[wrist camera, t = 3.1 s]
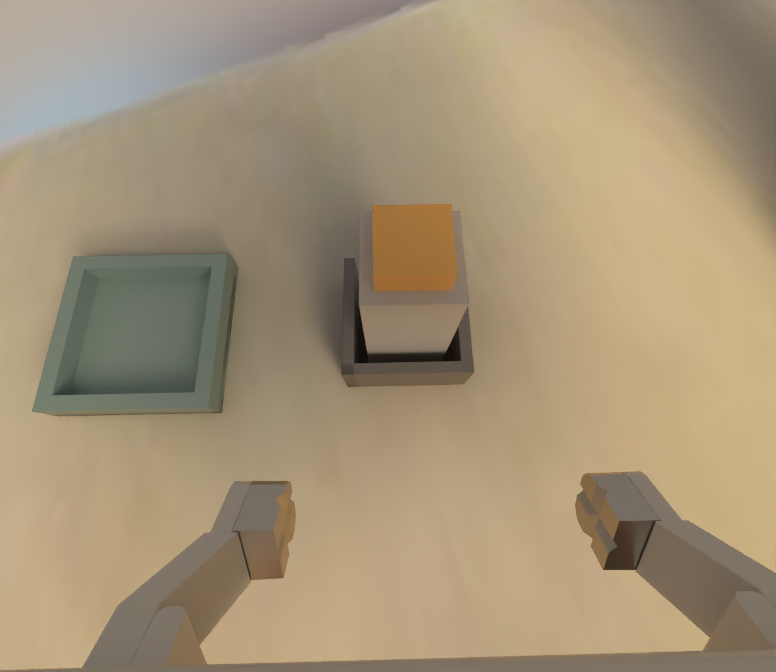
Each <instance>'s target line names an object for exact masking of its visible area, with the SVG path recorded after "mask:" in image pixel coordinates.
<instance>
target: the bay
mask: <svg viewBox="0 0 776 672" xmlns="http://www.w3.org/2000/svg"><path fill="white" fill-rule="evenodd" d="M451 356H452V361H443V362H395V363H358V276H357V270H356V263H355V258H347V259H344V306H343V367H342V375H343V377H344V379H345V381H346V384H347V386H348V387H355V386H402V385H449V384H464V383H465V382H466V381H467V380H468V379H469V377H470V376H471V375H472V374H473V373H474V367H473V356H472V346H471V335H470V324H469V314H468V306H467V309H466V311H465V313H464V315H463V317H462V319H461V321H460V324H459V326H458V328H457V330H456V332H455V334H454V336H453V338H452V341H451Z"/></svg>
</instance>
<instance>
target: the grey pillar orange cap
mask: <svg viewBox="0 0 776 672" xmlns="http://www.w3.org/2000/svg"><path fill="white" fill-rule="evenodd" d="M468 304H469V301H468V291H467V280H466V270H465V259H464V248H463V238H462V227H461V217H460V211H452V205H451V204H427V205H375V206H372V213H359V309H360V314H361V320H362V326H363V331H364V337H365V342H366V348H367V354H368V359H369V363H395V362H442V360H443V358H444V356H445V353H446V351H447V349H448V347H449V345H450V343H451V341H452V338H453V336H454V334H455V332H456V330H457V328H458V326H459V324H460V321H461V319H462V317H463V315H464V313H465V311H466V309H467V306H468Z"/></svg>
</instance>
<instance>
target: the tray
mask: <svg viewBox="0 0 776 672" xmlns="http://www.w3.org/2000/svg"><path fill="white" fill-rule="evenodd" d="M237 272H238V267H237V266H236V265H235V263H234V262H233V260H232V259H231V258H230V256H229V255H228V254H181V255H130V256H80V257H73V260H72V263H71V267H70V271H69V275H68V278H67V282H66V286H65V290H64V293H63V297H62V301H61V305H60V308H59V312H58V316H57V320H56V323H55V327H54V331H53V335H52V338H51V342H50V346H49V350H48V353H47V357H46V361H45V365H44V368H43V372H42V376H41V380H40V383H39V387H38V391H37V394H36V398H35V402H34V406H33V409H32V412H37V413H43V414H49V415H54V416H89V415H136V414H182V413H222V404H223V395H224V386H225V377H226V369H227V360H228V351H229V342H230V333H231V325H232V316H233V307H234V298H235V289H236V281H237Z"/></svg>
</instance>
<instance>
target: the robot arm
mask: <svg viewBox="0 0 776 672" xmlns="http://www.w3.org/2000/svg"><path fill="white" fill-rule="evenodd" d="M580 484H581V486H582V488H583V491H582V492H581V493H579V494H578V495H577V498H576V503H575V507H576V516H577V519H578V522H579V524H580V526H581V528H582V530H583V532H585V533H586V534H587V535H589V536H590V537H591V538H592V543H591V548H592V550H593V551H594V553H595V555H596V557H597V559H598V561H599V563H600V565H601V567H602V569H603V570H636V572H637V573H638V574H639V575H640V576H641V577H643V578H644V579H645V580H646V581H647V582H648V583H649V584H650V585H652V586H653V587H654V588H655V589H656V590H657V591H658V592H659V593H661V594H662V595H663V596H664V597H665V598H666V599H667V600H668V601H669V602H671V603H672V604H673V605H674V606H675V607H676V608H677V609H678V610H680V611H681V612H682V613H683V614H684V615H685V616H686V617H687V618H689V619H690V620H691V621H692V622H693V623H694V624H695V625H696V626H698V627H699V628H700V629H701V630H702V631H703V632H704V633H705V634H706V635H708V636H709V637H710V638H709V640H708V642H707V643H706V645H705V647H704V649H703V650H702V651H684V652H648V653H611V654H575V655H538V656H502V657H467V658H432V659H396V660H360V661H323V662H286V663H249V664H212V665H207V663H206V661H205V658H204V656H203V653H202V651H201V648H200V644H201V643H202V642H203V640H204V639H205V638H206V637H207V635H208V634H209V633H210V632H211V630H212V629H213V628H214V627H215V626H216V624H217V623H218V622H219V621H220V619H221V618H222V617H223V616H224V614H225V613H226V612H227V611H228V610H229V608H230V607H231V606H232V605H233V603H234V602H235V601H236V600H237V598H238V597H239V596H240V595H241V594H242V592H243V591H244V590H245V589H246V587H247V586H248V585H249V584H250V582H251V581H250V580H259V579H277V578H284V574H285V570H286V565H287V561H288V557H289V551H288V545H287V544H288V543H289V542H290V541H291V540H292V539H293V534H294V529H295V519H296V515H295V504H294V502H293V501H292V500H291V499H290V498H291V494H292V487H291V482H289V481H235V482H234V483H233V484H232V485H231V487H230V489H229V492H228V494H227V496H226V498H225V501H224V503H223V505H222V507H221V510H220V512H219V514H218V516H217V519H216V521H215V523H214V526H213V528H212V530H211V532H210V533H204V534H203V535H202V536H200V537H199V538H198V539H197V540H196V541H194V542H193V543H192V544H191V545H190V546H188V547H187V548H186V549H185V550H184V551H183V552H181V553H180V554H179V555H178V556H177V557H175V558H174V559H173V560H172V561H171V562H169V563H168V564H167V565H166V566H165V567H163V568H162V569H161V570H160V571H159V572H157V573H156V574H155V575H154V576H153V577H151V578H150V579H149V580H148V581H147V582H145V583H144V584H143V585H142V586H141V587H140V588H138V589H137V590H136V591H135V592H134V593H132V594H131V595H130V596H129V597H128V598H126V599H125V600H124V601H123V602H122V603H120V604H119V605H118V606H117V608H116V609H115V611H114V613H113V615H112V616H111V618H110V620H109V622H108V623H107V625H106V627H105V629H104V630H103V632H102V634H101V636H100V637H99V639H98V641H97V643H96V644H95V646H94V648H93V650H92V651H91V653H90V655H89V657H88V658H87V660H86V662H85V664H84V665H83V667H82V668H60V669H23V670H0V672H776V573H774V572H773V571H771V570H769V569H768V568H766V567H764V566H763V565H761V564H759V563H758V562H756V561H754V560H753V559H751V558H749V557H748V556H746V555H744V554H743V553H741V552H739V551H738V550H736V549H734V548H733V547H731V546H729V545H728V544H726V543H725V542H723V541H721V540H720V539H718V538H716V537H715V536H713V535H711V534H710V533H708V532H706V531H705V530H703V529H701V528H700V527H698V526H696V525H695V524H693V523H691V522H690V521H682V520H681V518H680V517H679V516H678V515H677V513H676V512H675V511H674V510H673V508H672V507H671V506H670V505H669V503H668V502H667V501H666V500H665V498H664V497H663V496H662V495H661V494H660V492H659V491H658V490H657V489H656V487H655V486H654V485H653V484H652V482H651V481H650V480H649V479H648V477H647V476H646V475H645V474H644V473H642V472H621V473H620V472H610V473H585V474H584V475H583V476H582V479H581V483H580Z"/></svg>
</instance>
